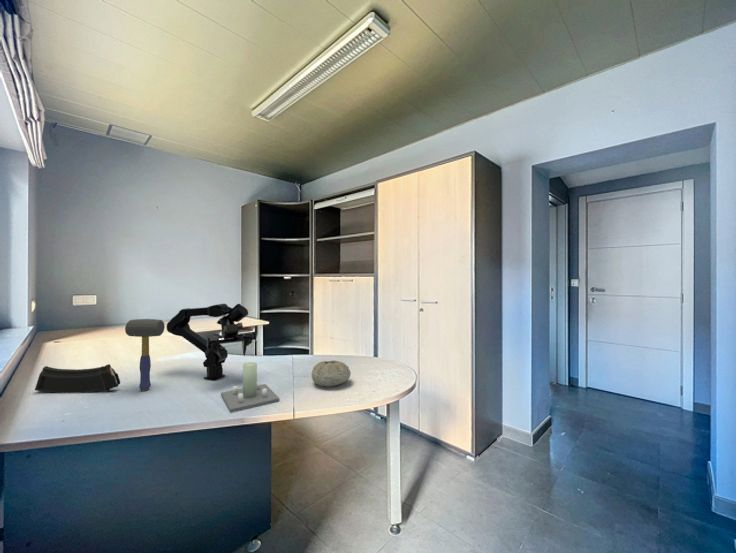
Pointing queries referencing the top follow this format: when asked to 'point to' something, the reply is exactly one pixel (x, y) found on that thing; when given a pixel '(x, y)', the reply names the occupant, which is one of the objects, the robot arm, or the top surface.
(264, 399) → the peg board
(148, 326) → the rubber mallet
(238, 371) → the top surface
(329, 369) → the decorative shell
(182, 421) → the top surface
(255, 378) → the post
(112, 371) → the magazine
